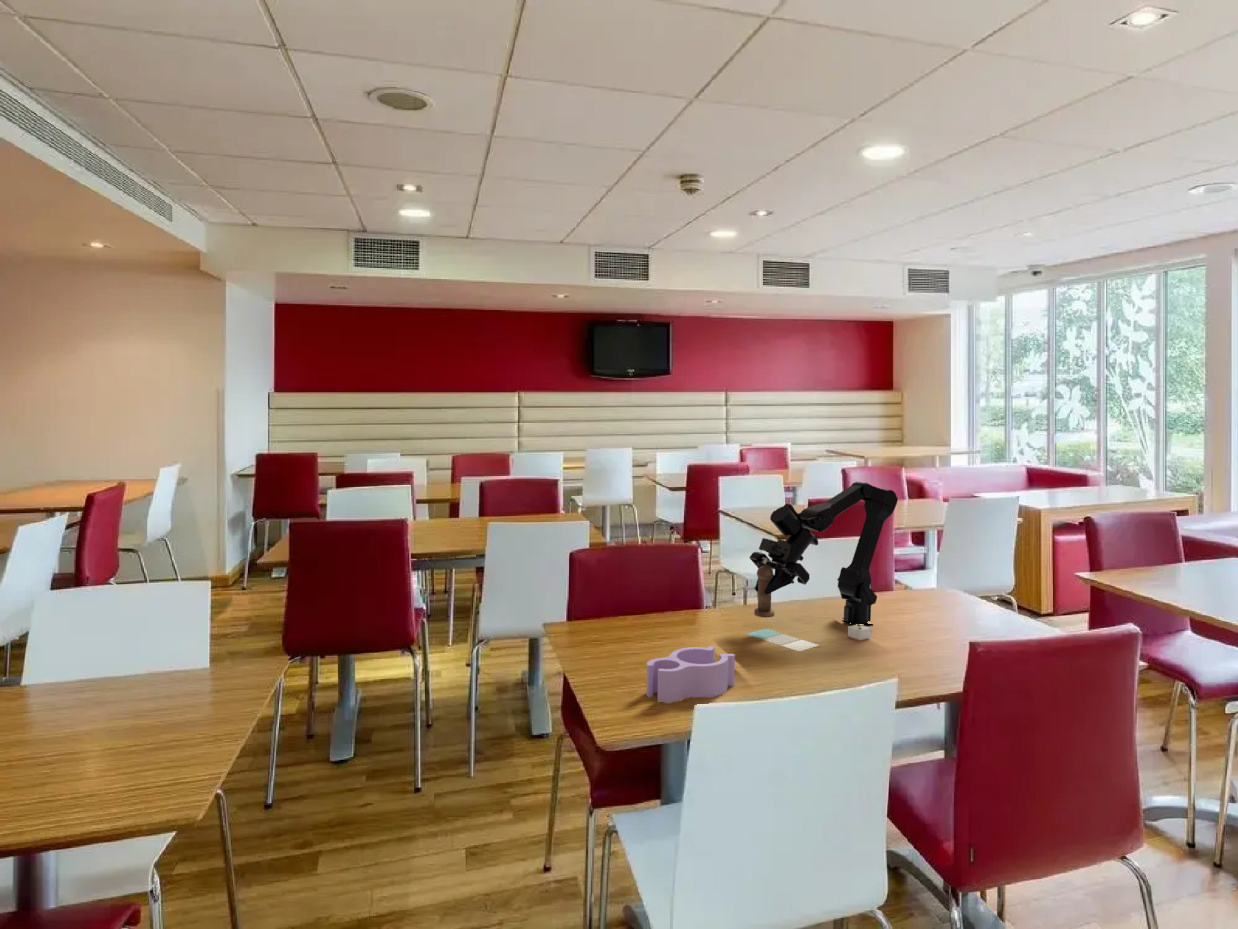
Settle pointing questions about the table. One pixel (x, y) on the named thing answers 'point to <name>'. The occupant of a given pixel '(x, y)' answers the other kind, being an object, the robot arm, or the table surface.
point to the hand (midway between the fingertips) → (760, 592)
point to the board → (782, 639)
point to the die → (859, 632)
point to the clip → (690, 674)
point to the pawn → (763, 599)
